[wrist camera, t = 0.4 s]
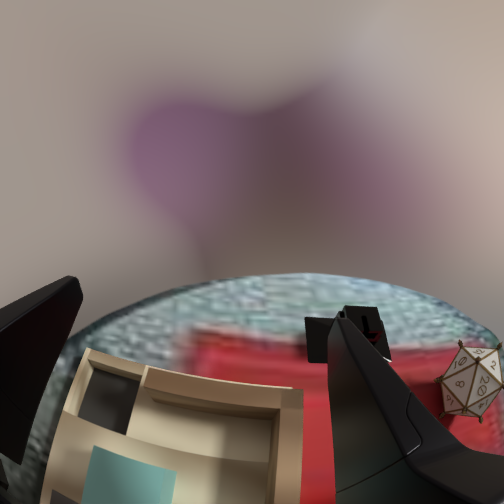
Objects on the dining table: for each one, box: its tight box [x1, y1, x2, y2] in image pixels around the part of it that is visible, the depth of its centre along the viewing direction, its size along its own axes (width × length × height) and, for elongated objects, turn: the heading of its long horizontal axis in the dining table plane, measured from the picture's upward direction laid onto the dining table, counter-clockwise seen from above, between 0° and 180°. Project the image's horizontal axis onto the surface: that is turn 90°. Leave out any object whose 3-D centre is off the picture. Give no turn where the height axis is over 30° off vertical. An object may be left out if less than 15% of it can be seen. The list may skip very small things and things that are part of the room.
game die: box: [434, 340, 504, 424], centre depth 17 cm, size 9×8×10 cm
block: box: [81, 445, 177, 504], centre depth 10 cm, size 4×4×4 cm
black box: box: [304, 305, 392, 363], centre depth 25 cm, size 12×7×5 cm, turn 87°
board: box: [40, 348, 292, 504], centre depth 13 cm, size 21×18×2 cm
